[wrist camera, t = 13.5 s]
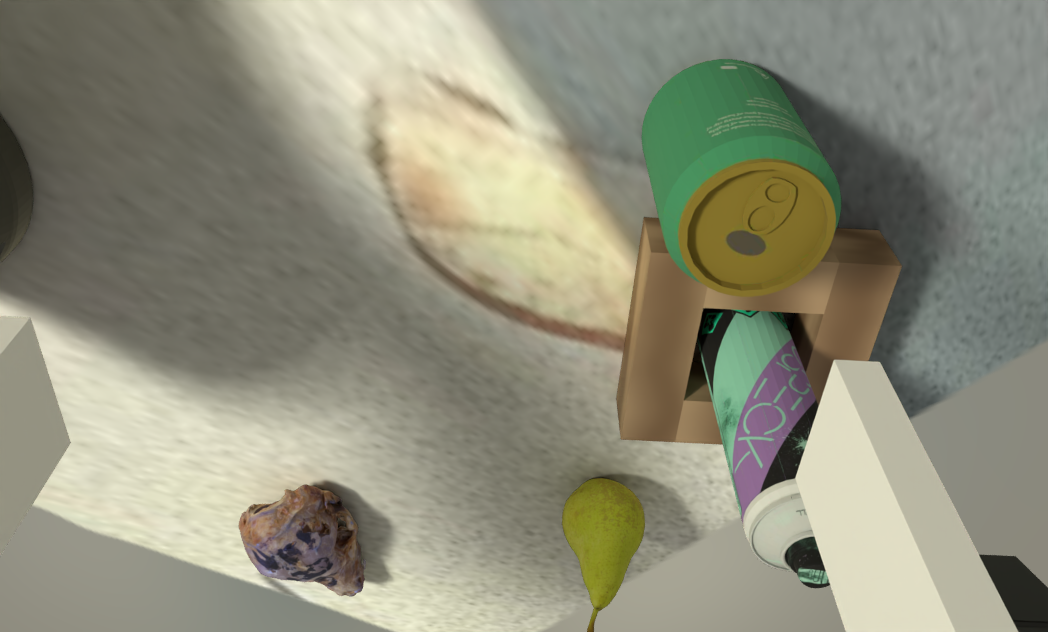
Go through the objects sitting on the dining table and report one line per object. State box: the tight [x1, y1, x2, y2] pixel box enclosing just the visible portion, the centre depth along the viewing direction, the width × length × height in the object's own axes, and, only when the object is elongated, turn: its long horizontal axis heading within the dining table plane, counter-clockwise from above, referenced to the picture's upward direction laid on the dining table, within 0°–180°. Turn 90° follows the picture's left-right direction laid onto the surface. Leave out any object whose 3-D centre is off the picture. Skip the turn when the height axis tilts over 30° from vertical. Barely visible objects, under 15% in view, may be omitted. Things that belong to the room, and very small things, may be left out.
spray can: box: [697, 308, 830, 588], centre depth 48 cm, size 6×6×20 cm
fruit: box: [562, 478, 645, 632], centre depth 60 cm, size 6×6×12 cm
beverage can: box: [642, 59, 841, 297], centre depth 44 cm, size 8×8×12 cm
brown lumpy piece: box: [239, 485, 366, 596], centre depth 66 cm, size 12×8×6 cm, turn 17°
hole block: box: [616, 217, 902, 444], centre depth 55 cm, size 14×14×4 cm
